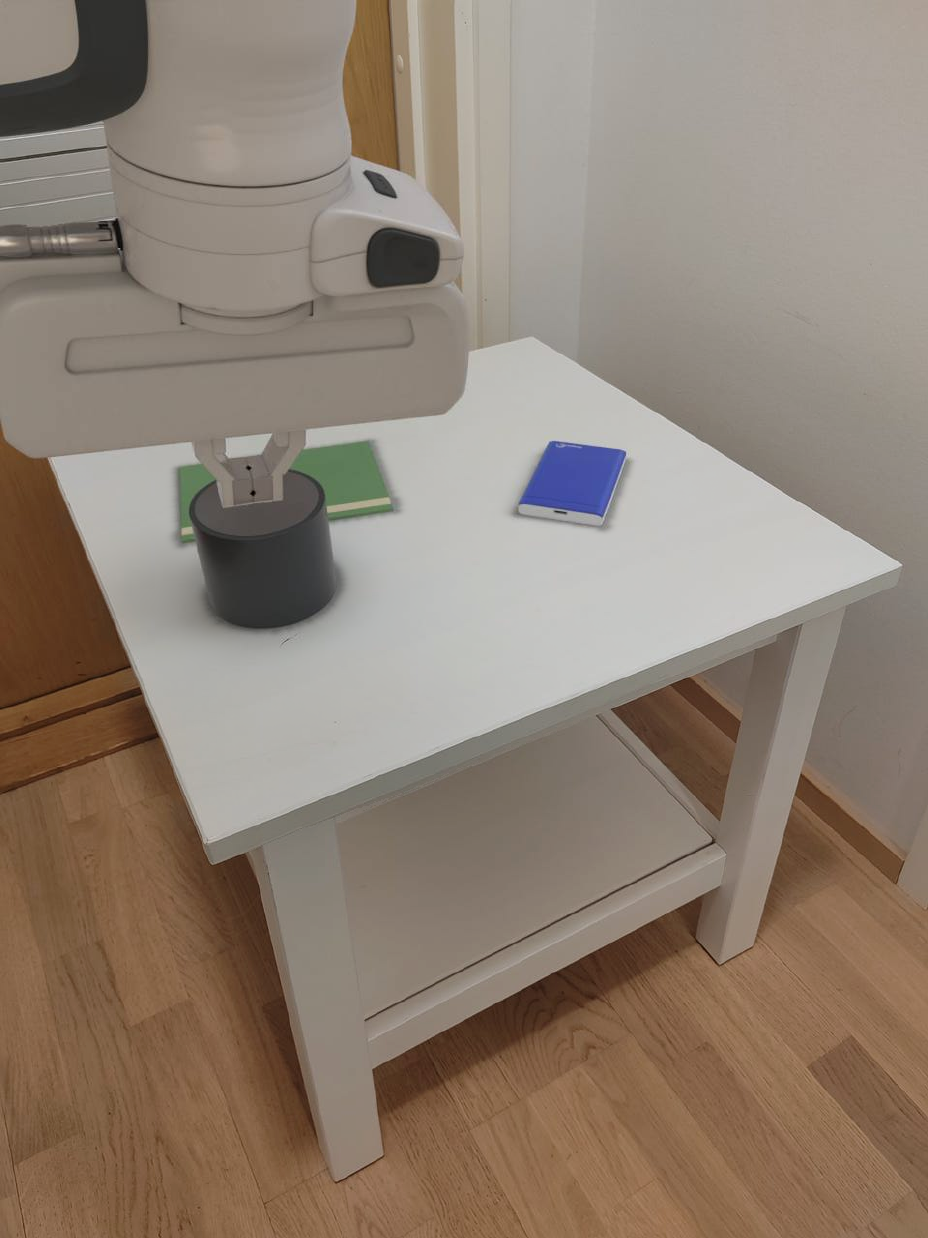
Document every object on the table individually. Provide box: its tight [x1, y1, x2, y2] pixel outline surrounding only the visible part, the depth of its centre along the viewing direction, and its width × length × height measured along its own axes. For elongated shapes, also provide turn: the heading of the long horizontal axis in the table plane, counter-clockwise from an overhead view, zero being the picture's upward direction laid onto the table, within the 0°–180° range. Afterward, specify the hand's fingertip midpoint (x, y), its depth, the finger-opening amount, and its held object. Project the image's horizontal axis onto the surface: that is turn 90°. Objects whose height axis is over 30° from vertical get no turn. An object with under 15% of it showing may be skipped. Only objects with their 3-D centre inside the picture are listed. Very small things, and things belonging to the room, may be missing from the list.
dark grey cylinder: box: [189, 469, 337, 630], centre depth 82 cm, size 17×11×9 cm, turn 31°
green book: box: [178, 440, 394, 544], centre depth 96 cm, size 20×14×1 cm
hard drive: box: [518, 440, 627, 527], centre depth 95 cm, size 2×8×12 cm
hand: (250, 496), depth 47 cm, fingers closed
